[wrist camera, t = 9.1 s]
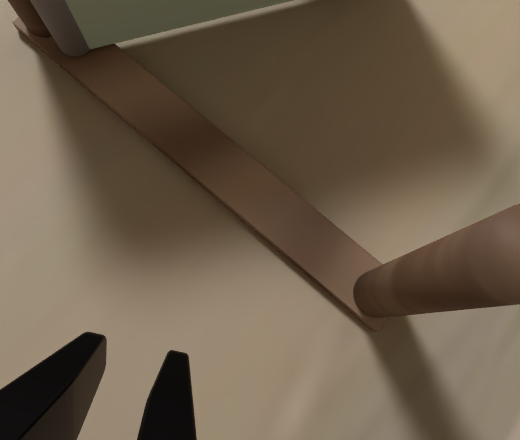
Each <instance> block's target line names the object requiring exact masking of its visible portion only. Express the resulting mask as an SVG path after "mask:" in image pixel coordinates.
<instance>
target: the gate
mask: <svg viewBox="0 0 520 440" xmlns="http://www.w3.org/2000/svg"><path fill="white" fill-rule="evenodd" d="M30 1H31V3H32V4H33V6H34V7H35V9H36V11H37V12H38V14H39V16H40V17H41V19H42V21H43V22H44V24H45V25H46V27H47V29H48V30H49V32H50V34H51V35H52V37H53V38H54V40H55V42H56V43H57V45H58V47H59V48H60V50H61V51H62V52H63V53H64V54H66V55H69V56H80V55H83V54H85V53H87V52H88V51H89V50H90V49H93V48H98V47H102V46H106V45H110V44H114V43H118V42H122V41H127V40H131V39H135V38H139V37H143V36H147V35H152V34H156V33H160V32H164V31H168V30H172V29H176V28H181V27H185V26H189V25H193V24H197V23H201V22H205V21H210V20H214V19H218V18H222V17H226V16H230V15H235V14H239V13H243V12H247V11H251V10H255V9H259V8H264V7H268V6H272V5H276V4H280V3H284V2H288V1H293V0H30Z"/></svg>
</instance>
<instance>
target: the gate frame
mask: <svg viewBox="0 0 520 440" xmlns="http://www.w3.org/2000/svg"><path fill="white" fill-rule="evenodd" d="M8 1H9V3H10V4H11V6H12V7H13V9H14V10H15V12H16V13H17V15H18V16H19V17H18V18H17V19H16V20H15V21H13V22H12V23H13V24H14V26H15V27H16V28H17V30H19V31H20V32H21V33H22V34H23V35H24V36H26V37H27V38H28V39H29V40H30V41H32V42H33V43H34V44H35V45H36V46H38V47H39V48H40V49H41V50H42V51H43V52H45V53H46V54H47V55H48V56H49V57H51V58H52V59H53V60H54V61H55V62H56V63H58V64H59V65H60V66H61V67H62V68H64V69H65V70H66V71H67V72H68V73H69V74H71V75H72V76H73V77H74V78H75V79H77V80H78V81H79V82H80V83H81V84H82V85H84V86H85V87H86V88H87V89H88V90H90V91H91V92H92V93H93V94H94V95H95V96H97V97H98V98H99V99H100V100H101V101H103V102H104V103H105V104H106V105H107V106H108V107H110V108H111V109H112V110H113V111H114V112H116V113H117V114H118V115H119V116H120V117H121V118H123V119H124V120H125V121H126V122H127V123H129V124H130V125H131V126H132V127H133V128H134V129H136V130H137V131H138V132H139V133H140V134H142V135H143V136H144V137H145V138H146V139H147V140H149V141H150V142H151V143H152V144H153V145H155V146H156V147H157V148H158V149H159V150H160V151H162V152H163V153H164V154H165V155H166V156H168V157H169V158H170V159H171V160H172V161H173V162H175V163H176V164H177V165H178V166H179V167H181V168H182V169H183V170H184V171H185V172H186V173H188V174H189V175H190V176H191V177H192V178H194V179H195V180H196V181H197V182H198V183H199V184H201V185H202V186H203V187H204V188H205V189H207V190H208V191H209V192H210V193H211V194H212V195H214V196H215V197H216V198H217V199H218V200H220V201H221V202H222V203H223V204H224V205H225V206H227V207H228V208H229V209H230V210H231V211H233V212H234V213H235V214H236V215H237V216H238V217H240V218H241V219H242V220H243V221H244V222H246V223H247V224H248V225H249V226H250V227H251V228H253V229H254V230H255V231H256V232H257V233H259V234H260V235H261V236H262V237H263V238H265V239H266V240H267V241H268V242H269V243H270V244H272V245H273V246H274V247H275V248H276V249H278V250H279V251H280V252H281V253H282V254H283V255H285V256H286V257H287V258H288V259H289V260H291V261H292V262H293V263H294V264H295V265H296V266H298V267H299V268H300V269H301V270H302V271H304V272H305V273H306V274H307V275H308V276H309V277H311V278H312V279H313V280H314V281H315V282H317V283H318V284H319V285H320V286H321V287H322V288H324V289H325V290H326V291H327V292H328V293H330V294H331V295H332V296H333V297H334V298H335V299H337V300H338V301H339V302H340V303H341V304H343V305H344V306H345V307H346V308H347V309H348V310H350V311H351V312H352V313H353V314H354V315H356V316H357V317H358V318H359V319H360V320H361V321H363V322H364V323H365V324H366V325H367V326H369V327H370V328H371V329H372V330H373V331H374V332H378V331H379V330H380V329H381V327H382V326H383V325H384V323H385V322H386V321H387V319H388V318H389V317H393V316H403V315H413V314H424V313H434V312H444V311H455V310H465V309H475V308H485V307H496V306H506V305H516V304H520V204H518V205H514V206H512V207H510V208H508V209H505V210H503V211H501V212H499V213H497V214H494V215H492V216H490V217H488V218H485V219H483V220H481V221H479V222H477V223H474V224H472V225H470V226H468V227H465V228H463V229H461V230H459V231H457V232H454V233H452V234H450V235H448V236H445V237H443V238H441V239H439V240H437V241H434V242H432V243H430V244H428V245H425V246H423V247H421V248H419V249H417V250H414V251H412V252H410V253H408V254H405V255H403V256H401V257H399V258H397V259H394V260H392V261H390V262H388V263H385V264H382V263H380V262H379V261H378V260H377V259H376V258H374V257H373V256H372V255H371V254H370V253H368V252H367V251H366V250H365V249H363V248H362V247H361V246H360V245H359V244H357V243H356V242H355V241H354V240H352V239H351V238H350V237H349V236H348V235H346V234H345V233H344V232H343V231H342V230H340V229H339V228H338V227H337V226H335V225H334V224H333V223H332V222H331V221H329V220H328V219H327V218H326V217H325V216H323V215H322V214H321V213H320V212H318V211H317V210H316V209H315V208H314V207H312V206H311V205H310V204H309V203H307V202H306V201H305V200H304V199H303V198H301V197H300V196H299V195H298V194H297V193H295V192H294V191H293V190H292V189H290V188H289V187H288V186H287V185H286V184H284V183H283V182H282V181H281V180H280V179H278V178H277V177H276V176H275V175H273V174H272V173H271V172H270V171H269V170H267V169H266V168H265V167H264V166H262V165H261V164H260V163H259V162H258V161H256V160H255V159H254V158H253V157H252V156H250V155H249V154H248V153H247V152H245V151H244V150H243V149H242V148H241V147H239V146H238V145H237V144H236V143H235V142H233V141H232V140H231V139H230V138H228V137H227V136H226V135H225V134H224V133H222V132H221V131H220V130H219V129H217V128H216V127H215V126H214V125H213V124H211V123H210V122H209V121H208V120H207V119H205V118H204V117H203V116H202V115H200V114H199V113H198V112H197V111H196V110H194V109H193V108H192V107H191V106H190V105H188V104H187V103H186V102H185V101H183V100H182V99H181V98H180V97H179V96H177V95H176V94H175V93H174V92H172V91H171V90H170V89H169V88H168V87H166V86H165V85H164V84H163V83H162V82H160V81H159V80H158V79H157V78H155V77H154V76H153V75H152V74H151V73H149V72H148V71H147V70H146V69H145V68H143V67H142V66H141V65H140V64H138V63H137V62H136V61H135V60H134V59H132V58H131V57H130V56H129V55H127V54H126V53H125V52H124V51H123V50H121V49H120V48H119V47H118V46H117V45H115V44H110V45H106V46H102V47H98V48H93V49H90V50H89V51H88V52H87V53H85V54H83V55H80V56H69V55H66V54H64V53H63V52H62V51H61V50H60V48H59V47H58V45H57V43H56V42H55V40H54V38H53V37H52V35H51V34H50V32H49V30H48V29H47V27H46V25H45V24H44V22H43V21H42V19H41V17H40V16H39V14H38V12H37V11H36V9H35V7H34V6H33V4H32V3H31V1H30V0H8Z"/></svg>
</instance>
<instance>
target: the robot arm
mask: <svg viewBox="0 0 520 440" xmlns="http://www.w3.org/2000/svg"><path fill="white" fill-rule="evenodd" d="M106 345H107V340H106V337H105V336H104V335H101V334H97V333H92V332H85V333H83V334H82V335H80V336H79V337H77V338H76V339H74V340H73V341H71V342H70V343H68V344H67V345H65V346H64V347H62V348H61V349H59V350H58V351H56V352H55V353H54V354H52V355H51V356H49V357H48V358H46V359H45V360H43V361H42V362H40V363H39V364H37V365H36V366H34V367H33V368H31V369H30V370H28V371H27V372H25V373H24V374H23V375H21V376H20V377H18V378H17V379H15V380H14V381H12V382H11V383H9V384H8V385H6V386H5V387H3V388H2V389H0V440H77V437H78V435H79V433H80V430H81V428H82V425H83V423H84V420H85V418H86V415H87V413H88V411H89V408H90V406H91V403H92V401H93V398H94V396H95V393H96V391H97V388H98V386H99V383H100V381H101V379H102V376H103V373H104V370H105V366H106ZM137 440H197V438H196V428H195V417H194V407H193V397H192V386H191V376H190V366H189V357H188V354H186V353H183V352H178V351H174V350H170V351H169V352H168V353H167V355H166V358H165V360H164V362H163V364H162V367H161V369H160V371H159V373H158V376H157V378H156V380H155V382H154V385H153V387H152V389H151V391H150V394H149V397H148V399H147V402H146V406H145V409H144V413H143V417H142V422H141V426H140V430H139V434H138V438H137Z"/></svg>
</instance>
